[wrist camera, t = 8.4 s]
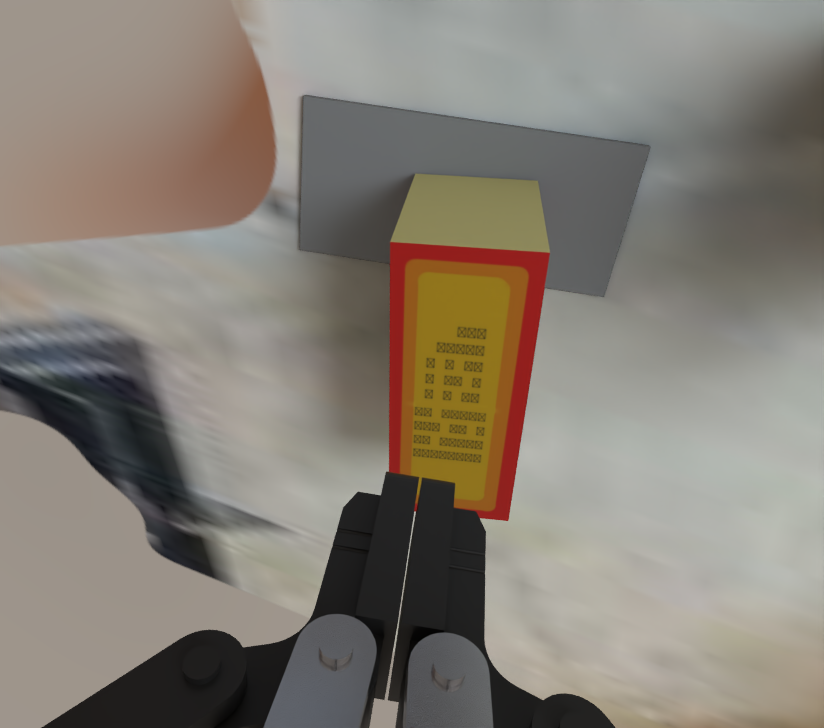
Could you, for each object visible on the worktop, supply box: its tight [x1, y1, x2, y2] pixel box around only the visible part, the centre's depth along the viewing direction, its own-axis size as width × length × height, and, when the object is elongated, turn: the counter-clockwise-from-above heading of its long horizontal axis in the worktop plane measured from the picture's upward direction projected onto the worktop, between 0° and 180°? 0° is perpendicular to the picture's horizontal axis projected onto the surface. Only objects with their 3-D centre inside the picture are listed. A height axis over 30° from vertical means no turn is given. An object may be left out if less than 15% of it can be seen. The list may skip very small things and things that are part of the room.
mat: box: [300, 95, 650, 297], centre depth 35 cm, size 8×18×1 cm, turn 83°
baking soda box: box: [389, 174, 550, 521], centre depth 34 cm, size 10×6×16 cm
